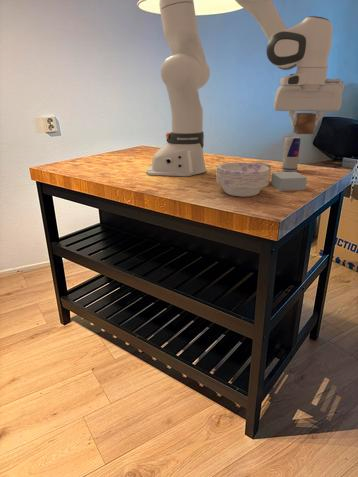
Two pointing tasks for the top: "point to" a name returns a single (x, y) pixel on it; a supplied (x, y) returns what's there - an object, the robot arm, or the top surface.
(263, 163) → the beech block
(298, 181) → the base block
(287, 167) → the energy drink
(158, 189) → the top surface
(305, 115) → the walnut block
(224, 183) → the paper bowls
